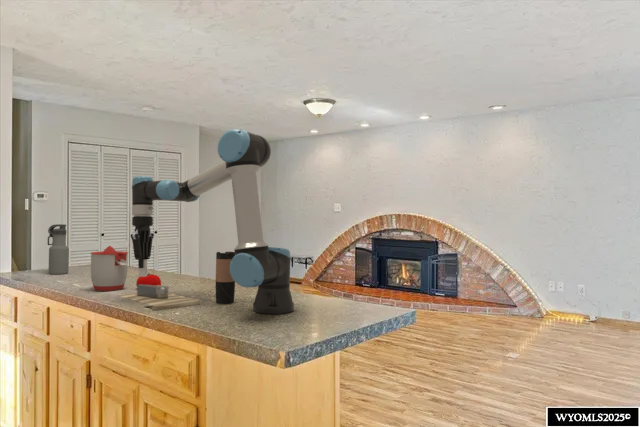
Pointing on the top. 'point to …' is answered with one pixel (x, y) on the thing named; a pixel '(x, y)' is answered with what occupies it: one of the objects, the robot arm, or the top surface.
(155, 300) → the striped wooden cutting board
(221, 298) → the travel mug
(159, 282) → the tomato
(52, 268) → the water bottle
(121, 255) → the citrus juicer
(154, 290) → the bar
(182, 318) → the top surface
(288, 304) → the robot arm
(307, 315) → the top surface
